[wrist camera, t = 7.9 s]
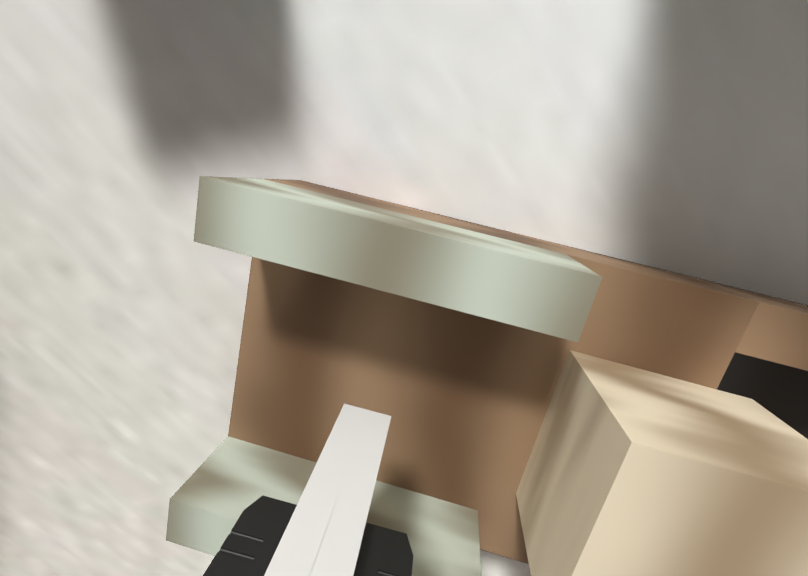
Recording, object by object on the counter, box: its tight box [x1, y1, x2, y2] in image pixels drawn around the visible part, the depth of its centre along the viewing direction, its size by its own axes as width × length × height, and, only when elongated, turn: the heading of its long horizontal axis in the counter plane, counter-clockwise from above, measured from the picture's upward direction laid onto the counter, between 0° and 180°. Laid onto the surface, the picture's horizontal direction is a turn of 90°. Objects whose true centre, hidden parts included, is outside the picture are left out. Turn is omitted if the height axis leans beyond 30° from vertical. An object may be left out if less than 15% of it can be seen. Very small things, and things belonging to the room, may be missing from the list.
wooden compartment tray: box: [166, 176, 808, 576], centre depth 17 cm, size 29×14×8 cm, turn 76°
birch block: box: [516, 350, 808, 576], centre depth 14 cm, size 7×7×6 cm
